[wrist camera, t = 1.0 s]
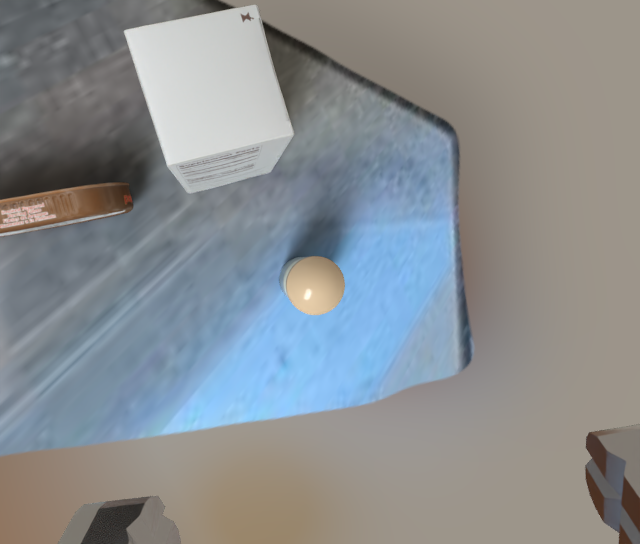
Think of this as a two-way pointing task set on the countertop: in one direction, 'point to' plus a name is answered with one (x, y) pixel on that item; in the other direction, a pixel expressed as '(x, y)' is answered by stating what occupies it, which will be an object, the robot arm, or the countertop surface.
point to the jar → (312, 284)
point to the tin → (63, 207)
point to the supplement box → (212, 96)
